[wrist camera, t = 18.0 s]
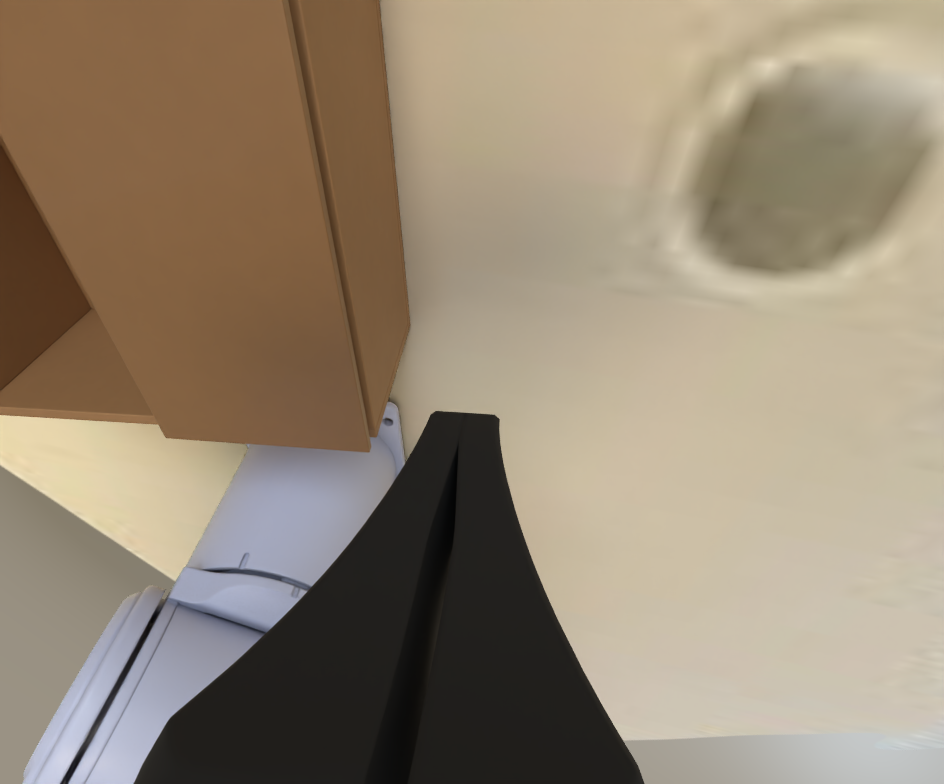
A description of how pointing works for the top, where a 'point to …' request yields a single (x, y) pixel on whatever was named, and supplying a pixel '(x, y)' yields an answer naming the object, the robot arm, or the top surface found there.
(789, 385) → the top surface
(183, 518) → the top surface
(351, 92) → the carton
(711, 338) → the top surface
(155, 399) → the flap
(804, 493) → the top surface
